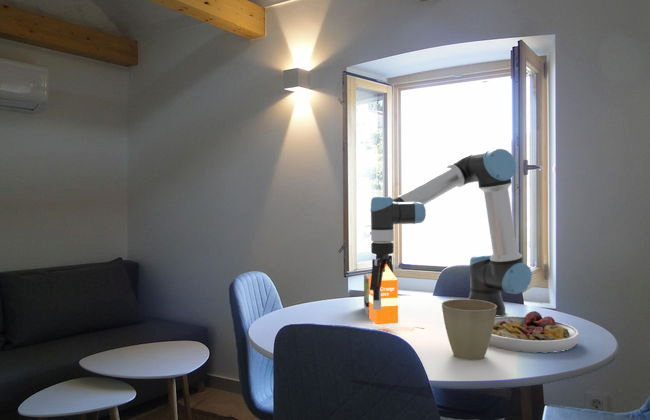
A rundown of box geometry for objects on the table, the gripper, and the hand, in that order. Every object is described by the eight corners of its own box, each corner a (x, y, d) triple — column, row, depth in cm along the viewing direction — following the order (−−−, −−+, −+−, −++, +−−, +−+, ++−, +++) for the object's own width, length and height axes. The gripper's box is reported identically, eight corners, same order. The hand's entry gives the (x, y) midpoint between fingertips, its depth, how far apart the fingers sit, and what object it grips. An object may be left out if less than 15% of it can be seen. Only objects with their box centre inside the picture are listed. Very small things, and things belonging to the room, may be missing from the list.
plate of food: (572, 364, 141) (572, 336, 140) (464, 348, 157) (463, 323, 156) (583, 338, 166) (583, 314, 166) (489, 327, 182) (489, 305, 182)
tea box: (391, 315, 200) (391, 278, 200) (365, 316, 201) (365, 278, 200) (387, 307, 215) (387, 272, 215) (363, 307, 216) (363, 272, 215)
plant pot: (437, 365, 141) (436, 307, 140) (447, 350, 154) (446, 297, 154) (494, 372, 135) (494, 311, 134) (499, 355, 148) (499, 301, 148)
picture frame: (424, 329, 178) (424, 327, 178) (410, 343, 162) (410, 341, 162) (360, 323, 189) (360, 321, 189) (340, 335, 172) (340, 333, 172)
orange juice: (376, 324, 170) (375, 264, 170) (368, 318, 179) (368, 261, 179) (398, 323, 172) (398, 263, 171) (390, 317, 181) (389, 260, 180)
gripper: (383, 239, 187) (383, 299, 187) (359, 244, 166) (360, 312, 166) (402, 239, 183) (403, 300, 184) (381, 245, 162) (382, 314, 163)
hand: (382, 306), depth 175 cm, fingers closed on orange juice, 11 cm apart
